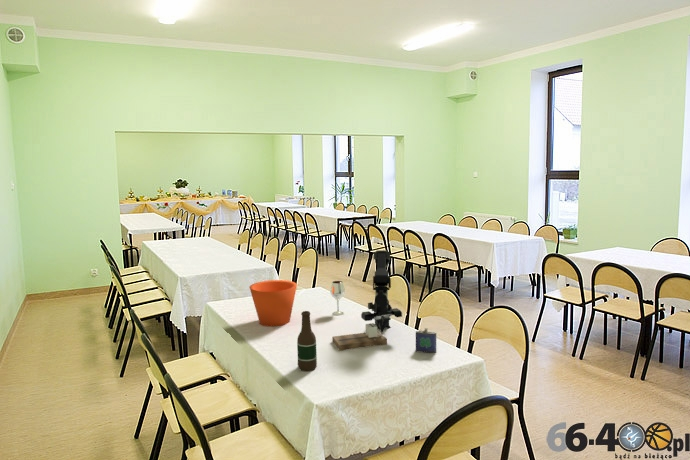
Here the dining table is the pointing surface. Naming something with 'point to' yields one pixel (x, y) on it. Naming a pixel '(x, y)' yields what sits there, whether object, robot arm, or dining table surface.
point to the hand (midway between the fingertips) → (381, 331)
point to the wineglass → (337, 294)
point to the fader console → (358, 341)
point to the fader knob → (371, 330)
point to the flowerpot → (273, 301)
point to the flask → (426, 341)
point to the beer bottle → (306, 345)
